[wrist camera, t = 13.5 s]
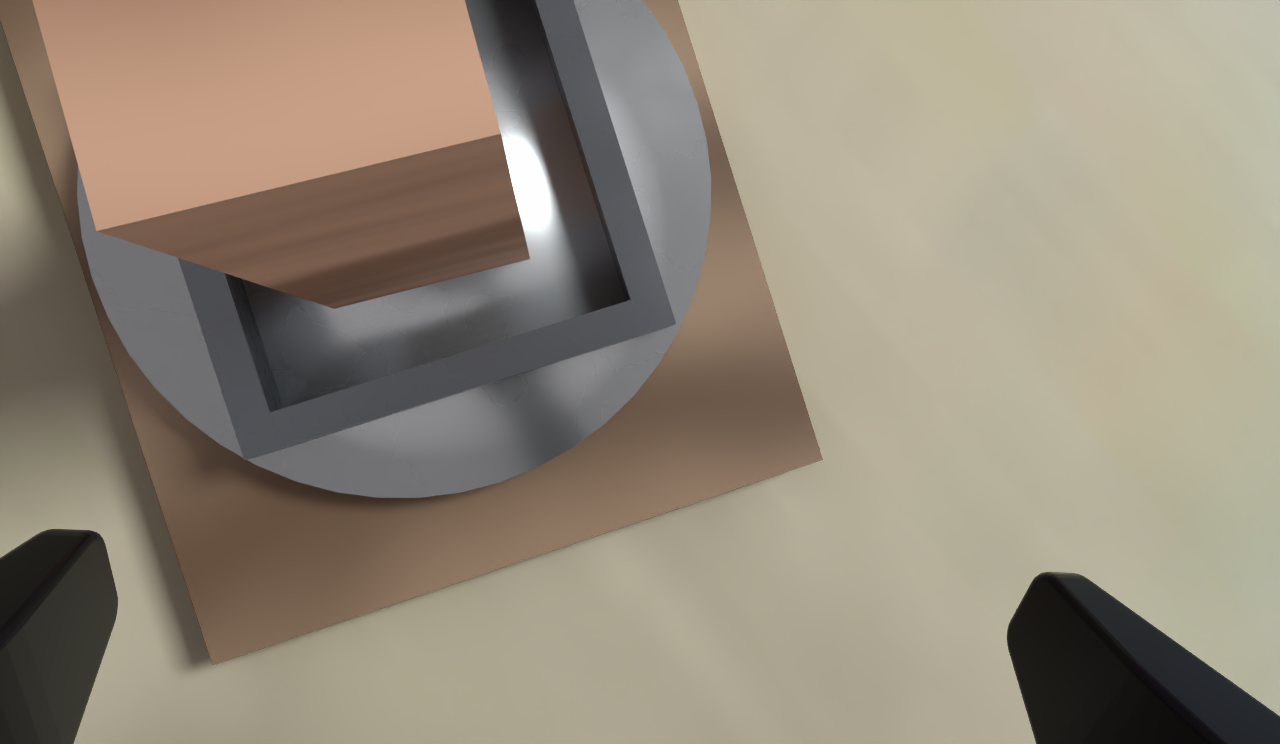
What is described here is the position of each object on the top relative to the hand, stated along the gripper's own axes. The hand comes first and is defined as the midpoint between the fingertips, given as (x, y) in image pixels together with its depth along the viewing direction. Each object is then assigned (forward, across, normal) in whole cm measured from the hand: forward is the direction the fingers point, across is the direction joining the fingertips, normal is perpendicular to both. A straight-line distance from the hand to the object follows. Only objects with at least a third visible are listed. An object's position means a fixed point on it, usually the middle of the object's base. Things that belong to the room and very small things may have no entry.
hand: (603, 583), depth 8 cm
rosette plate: (+15, +4, +2) cm, 15 cm away
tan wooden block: (+13, +4, +1) cm, 14 cm away
